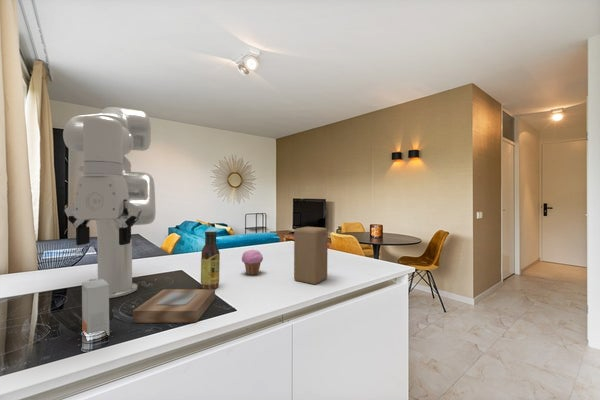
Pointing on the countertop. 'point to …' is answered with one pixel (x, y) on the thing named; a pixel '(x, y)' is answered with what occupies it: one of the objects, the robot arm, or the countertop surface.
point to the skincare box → (95, 306)
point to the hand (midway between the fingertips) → (104, 244)
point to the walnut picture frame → (175, 306)
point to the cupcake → (252, 261)
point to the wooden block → (310, 254)
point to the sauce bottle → (210, 262)
